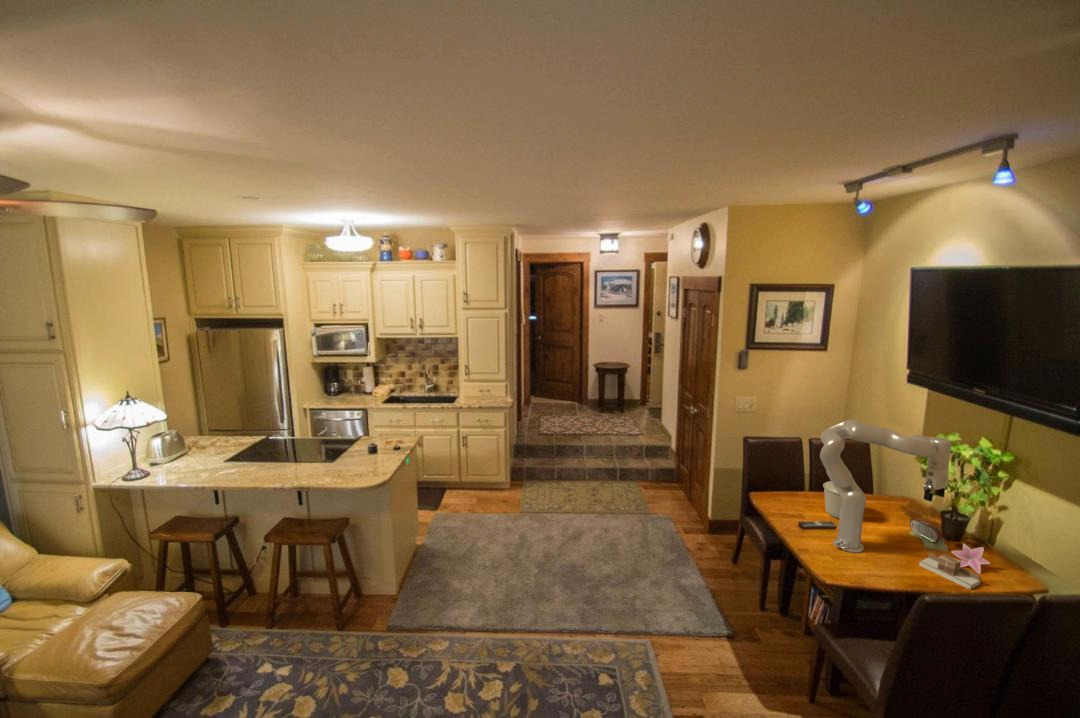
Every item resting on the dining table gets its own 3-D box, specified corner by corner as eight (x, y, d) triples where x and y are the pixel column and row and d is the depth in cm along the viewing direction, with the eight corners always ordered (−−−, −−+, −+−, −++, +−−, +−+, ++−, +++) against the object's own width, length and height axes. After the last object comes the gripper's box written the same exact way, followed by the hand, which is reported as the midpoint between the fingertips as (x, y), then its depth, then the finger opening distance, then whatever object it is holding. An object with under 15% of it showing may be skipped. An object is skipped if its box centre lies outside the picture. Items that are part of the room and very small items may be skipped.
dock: (969, 589, 197) (971, 581, 197) (919, 565, 215) (920, 557, 214) (979, 584, 201) (981, 576, 200) (929, 560, 218) (930, 553, 217)
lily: (945, 560, 220) (948, 549, 215) (965, 548, 221) (968, 537, 216) (973, 581, 210) (977, 570, 204) (993, 569, 211) (998, 557, 206)
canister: (866, 518, 257) (869, 483, 253) (843, 525, 250) (847, 489, 247) (835, 504, 273) (837, 471, 270) (813, 511, 267) (816, 477, 263)
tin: (942, 545, 230) (944, 529, 229) (937, 545, 230) (939, 530, 228) (912, 529, 245) (914, 515, 243) (907, 530, 244) (909, 515, 243)
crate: (953, 576, 203) (955, 563, 202) (937, 568, 209) (938, 556, 208) (959, 573, 205) (961, 561, 204) (943, 565, 211) (944, 553, 210)
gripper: (936, 470, 207) (932, 505, 209) (958, 463, 213) (953, 497, 216) (917, 464, 213) (913, 498, 216) (939, 458, 220) (935, 491, 223)
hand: (933, 498), depth 216 cm, fingers open, 9 cm apart
